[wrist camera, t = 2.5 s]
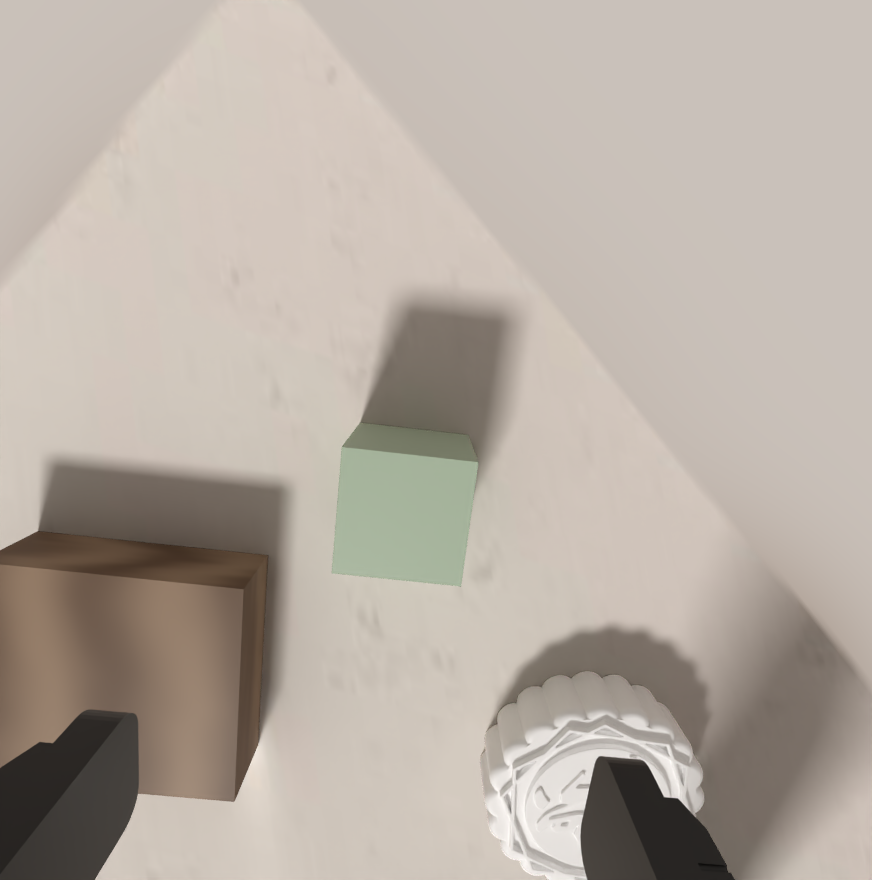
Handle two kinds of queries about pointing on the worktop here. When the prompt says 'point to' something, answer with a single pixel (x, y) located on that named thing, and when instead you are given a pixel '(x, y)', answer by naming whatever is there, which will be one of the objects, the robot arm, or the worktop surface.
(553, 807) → the mooncake
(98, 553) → the walnut block
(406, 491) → the sage block
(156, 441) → the worktop surface
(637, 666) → the worktop surface
